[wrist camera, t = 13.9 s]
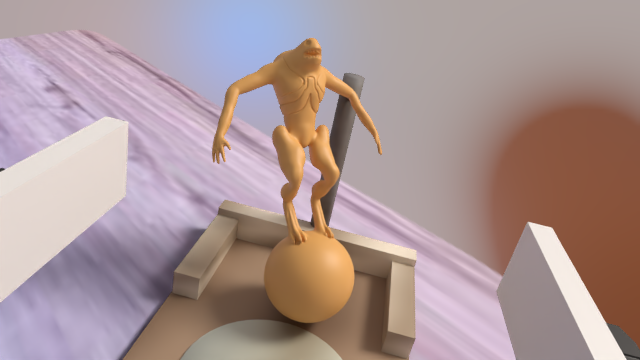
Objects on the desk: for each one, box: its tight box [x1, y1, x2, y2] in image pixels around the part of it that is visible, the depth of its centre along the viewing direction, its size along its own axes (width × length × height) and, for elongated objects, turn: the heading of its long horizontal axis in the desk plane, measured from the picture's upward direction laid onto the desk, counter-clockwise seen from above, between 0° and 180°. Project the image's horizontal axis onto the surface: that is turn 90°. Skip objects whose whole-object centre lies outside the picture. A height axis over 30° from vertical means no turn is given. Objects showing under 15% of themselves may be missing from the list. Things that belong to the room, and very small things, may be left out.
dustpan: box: [123, 73, 416, 360], centre depth 20 cm, size 11×14×10 cm
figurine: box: [212, 38, 382, 323], centre depth 21 cm, size 8×6×12 cm
